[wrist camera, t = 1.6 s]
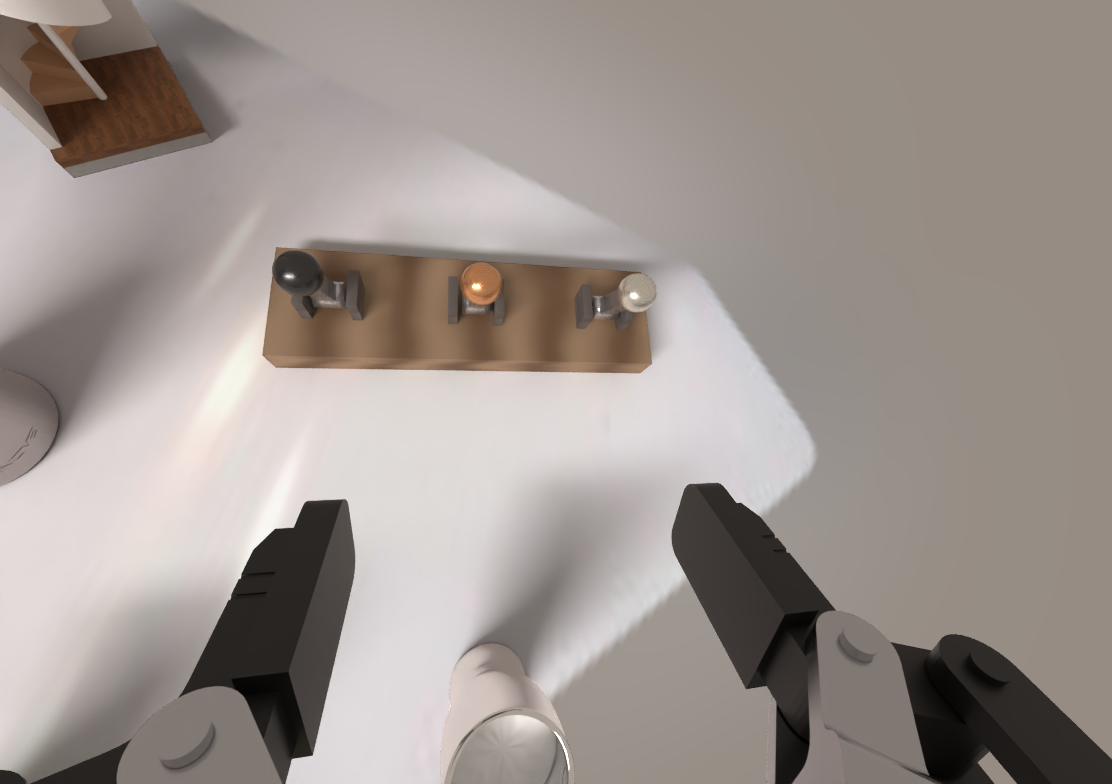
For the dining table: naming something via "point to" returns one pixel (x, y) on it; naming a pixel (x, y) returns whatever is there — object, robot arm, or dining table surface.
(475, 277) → the orange lever
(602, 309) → the cream lever
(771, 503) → the dining table surface
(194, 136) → the display case
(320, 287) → the black lever
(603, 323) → the switch panel
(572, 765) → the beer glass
